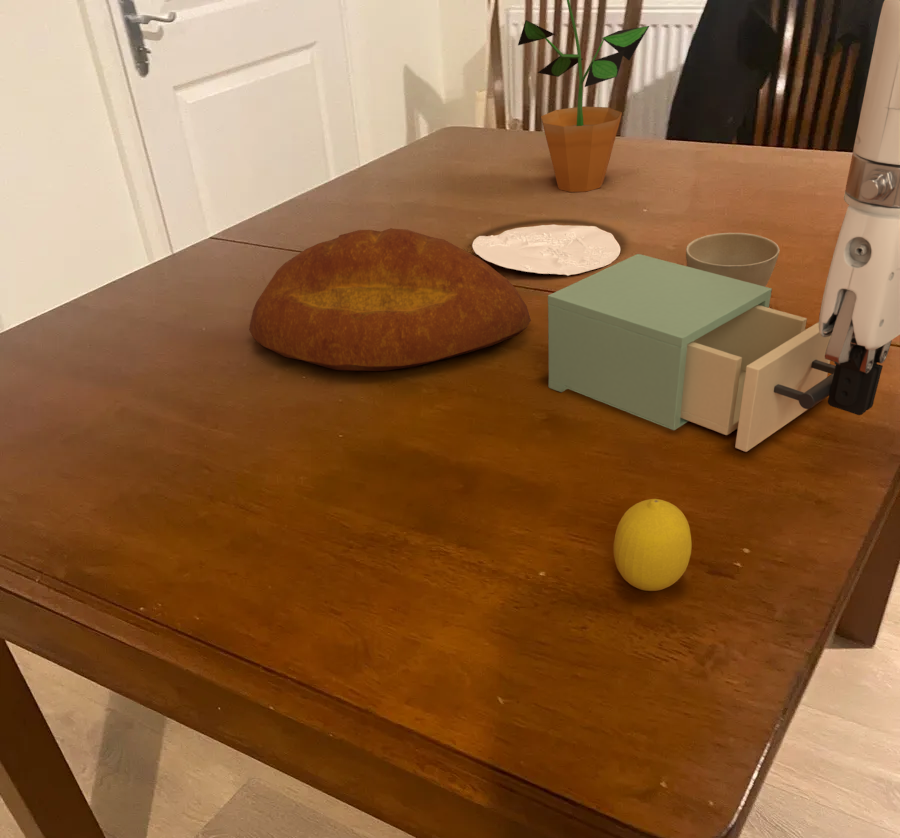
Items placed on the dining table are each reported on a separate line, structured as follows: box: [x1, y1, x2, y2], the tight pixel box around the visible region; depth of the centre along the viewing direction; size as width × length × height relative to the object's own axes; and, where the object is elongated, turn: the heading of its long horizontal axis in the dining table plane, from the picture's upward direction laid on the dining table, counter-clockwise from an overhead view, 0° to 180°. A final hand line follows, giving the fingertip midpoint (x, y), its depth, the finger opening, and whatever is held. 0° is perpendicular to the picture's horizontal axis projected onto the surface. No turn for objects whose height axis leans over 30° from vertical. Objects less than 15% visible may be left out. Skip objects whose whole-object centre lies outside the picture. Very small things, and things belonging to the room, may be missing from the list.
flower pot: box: [685, 232, 780, 287], centre depth 104 cm, size 10×10×7 cm
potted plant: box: [517, 0, 650, 193], centre depth 137 cm, size 18×19×30 cm
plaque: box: [472, 223, 621, 277], centre depth 125 cm, size 20×20×2 cm
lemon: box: [612, 498, 693, 592], centre depth 67 cm, size 6×6×8 cm
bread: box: [248, 227, 532, 372], centre depth 103 cm, size 21×33×12 cm, turn 80°
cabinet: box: [547, 253, 773, 431], centre depth 90 cm, size 16×14×10 cm
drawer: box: [680, 305, 836, 453], centre depth 85 cm, size 18×13×8 cm
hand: (849, 406), depth 78 cm, fingers closed
